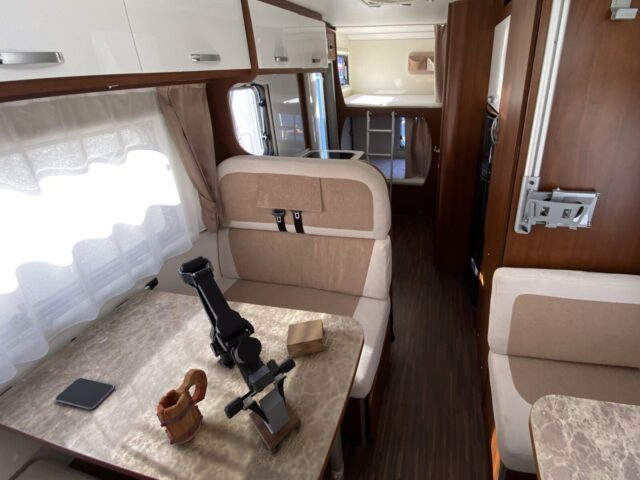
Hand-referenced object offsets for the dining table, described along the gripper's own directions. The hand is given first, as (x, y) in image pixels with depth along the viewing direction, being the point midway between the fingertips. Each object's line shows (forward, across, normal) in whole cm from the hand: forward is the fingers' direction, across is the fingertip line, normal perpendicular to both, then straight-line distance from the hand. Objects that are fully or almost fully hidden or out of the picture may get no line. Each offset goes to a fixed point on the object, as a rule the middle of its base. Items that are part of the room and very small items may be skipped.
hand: (277, 415), depth 80 cm
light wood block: (-8, +21, +19) cm, 29 cm away
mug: (-10, -15, +21) cm, 28 cm away
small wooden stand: (+3, 0, +8) cm, 8 cm away
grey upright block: (+1, 0, +5) cm, 5 cm away
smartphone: (-35, -36, +46) cm, 68 cm away
